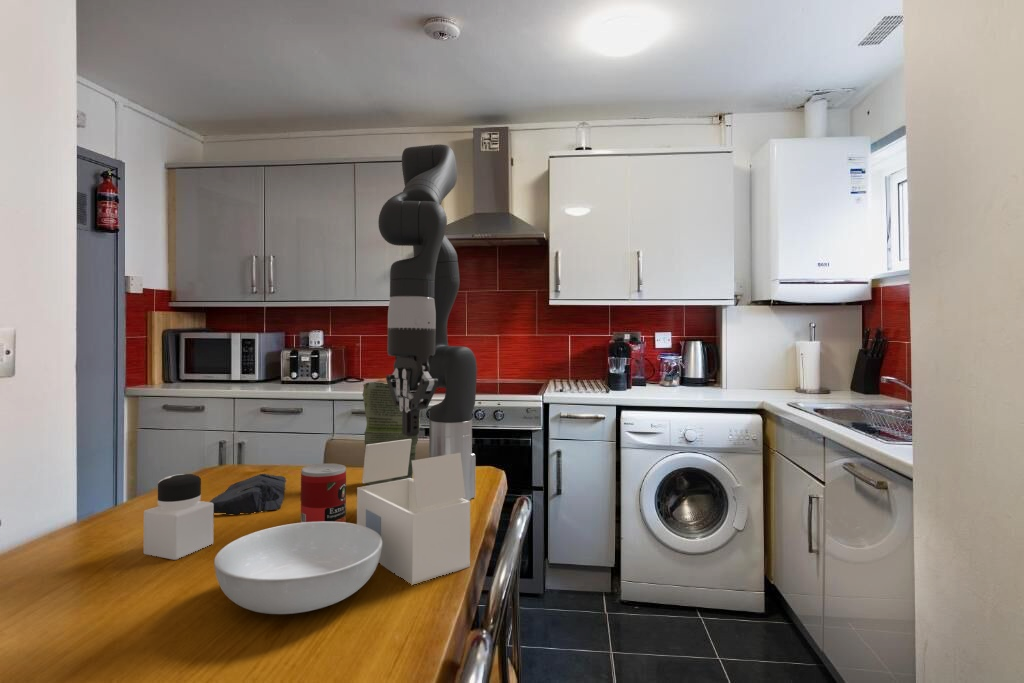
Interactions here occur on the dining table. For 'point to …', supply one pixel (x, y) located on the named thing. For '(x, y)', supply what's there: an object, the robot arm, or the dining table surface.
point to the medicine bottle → (178, 519)
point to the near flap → (438, 479)
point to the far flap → (386, 460)
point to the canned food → (323, 493)
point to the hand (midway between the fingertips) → (410, 435)
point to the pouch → (384, 422)
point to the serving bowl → (297, 566)
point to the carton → (416, 530)
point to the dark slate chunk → (252, 495)
